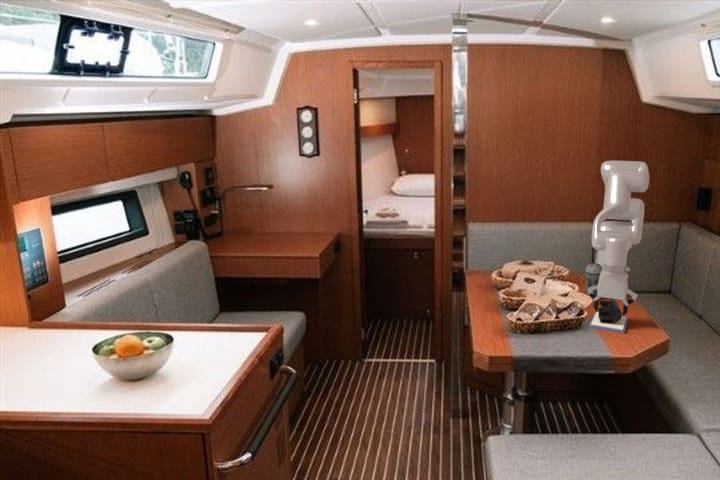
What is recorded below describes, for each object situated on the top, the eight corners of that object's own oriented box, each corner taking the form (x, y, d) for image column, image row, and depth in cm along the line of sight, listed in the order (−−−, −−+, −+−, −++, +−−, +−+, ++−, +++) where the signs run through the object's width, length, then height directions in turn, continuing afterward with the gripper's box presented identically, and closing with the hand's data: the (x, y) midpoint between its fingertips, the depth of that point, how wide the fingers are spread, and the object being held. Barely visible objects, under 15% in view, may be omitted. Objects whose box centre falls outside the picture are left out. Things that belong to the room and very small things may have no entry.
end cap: (621, 325, 214) (622, 308, 213) (600, 323, 216) (602, 306, 215) (617, 316, 224) (619, 299, 222) (597, 314, 226) (599, 298, 224)
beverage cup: (578, 296, 251) (583, 251, 247) (591, 294, 254) (595, 250, 250) (592, 301, 245) (596, 255, 240) (604, 299, 248) (609, 253, 243)
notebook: (594, 314, 230) (595, 311, 230) (628, 319, 224) (628, 316, 224) (588, 327, 216) (589, 324, 216) (624, 333, 210) (624, 330, 210)
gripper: (640, 269, 215) (635, 313, 218) (591, 263, 223) (587, 306, 226) (639, 274, 208) (634, 319, 212) (588, 268, 216) (584, 311, 220)
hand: (609, 312), depth 219 cm, fingers open, 9 cm apart
